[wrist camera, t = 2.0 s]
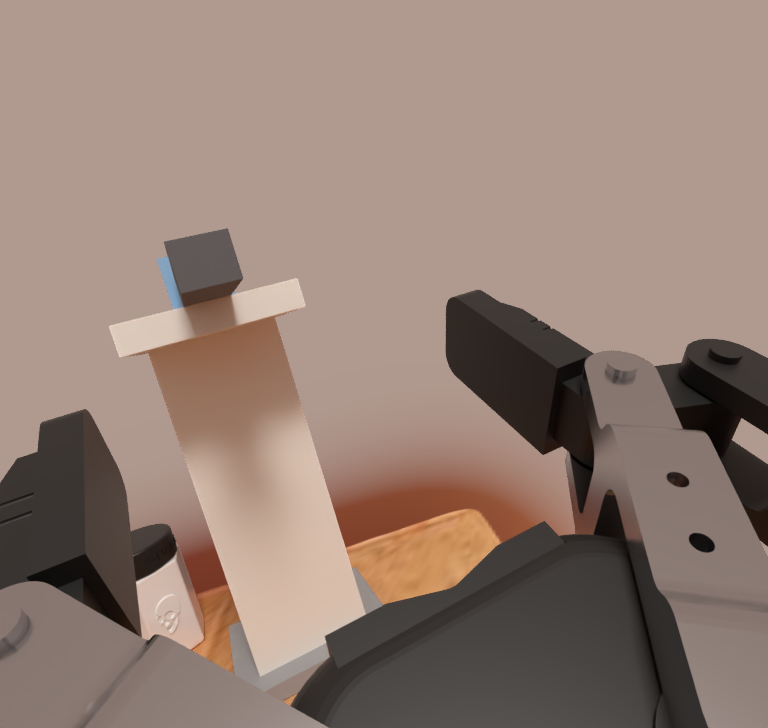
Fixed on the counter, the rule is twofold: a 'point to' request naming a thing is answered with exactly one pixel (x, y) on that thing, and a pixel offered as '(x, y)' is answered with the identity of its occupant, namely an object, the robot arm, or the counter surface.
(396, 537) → the counter surface
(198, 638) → the jar
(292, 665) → the pedestal stand
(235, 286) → the blue block grey bar
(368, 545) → the counter surface
